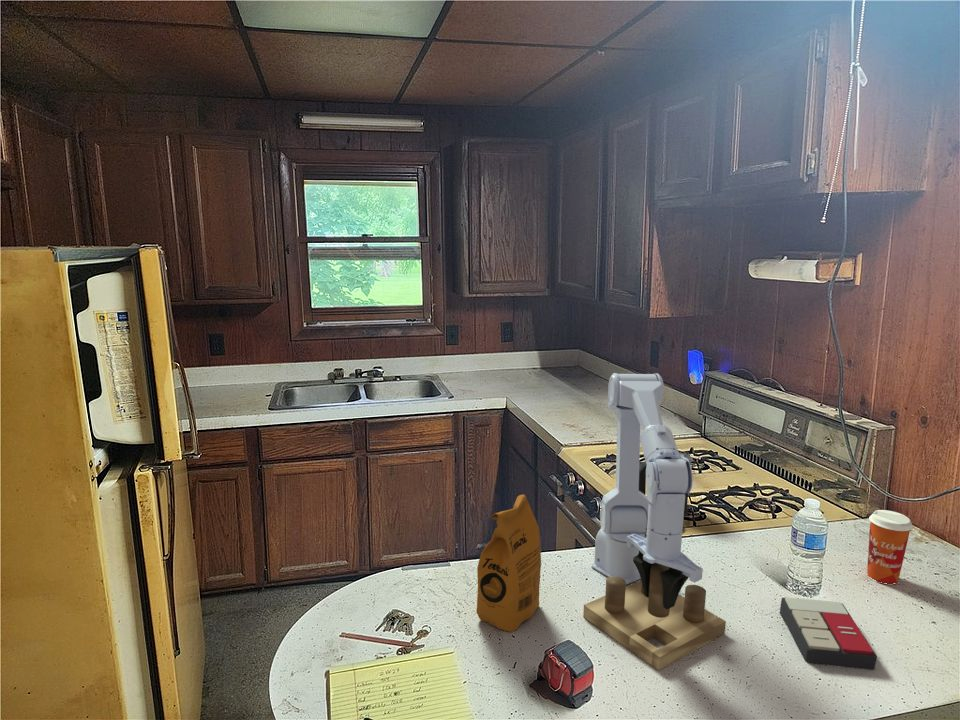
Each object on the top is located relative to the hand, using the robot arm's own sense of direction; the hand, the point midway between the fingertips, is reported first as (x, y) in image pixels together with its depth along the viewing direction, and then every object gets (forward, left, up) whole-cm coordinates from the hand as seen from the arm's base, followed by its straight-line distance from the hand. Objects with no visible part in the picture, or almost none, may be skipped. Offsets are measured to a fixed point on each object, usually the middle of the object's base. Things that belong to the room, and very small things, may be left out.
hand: (659, 600), depth 109 cm
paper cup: (+11, +59, -10) cm, 61 cm away
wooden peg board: (-5, +5, -9) cm, 12 cm away
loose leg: (0, 0, -2) cm, 2 cm away
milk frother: (-34, +45, -10) cm, 57 cm away
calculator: (+15, +28, -10) cm, 33 cm away
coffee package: (-23, -15, -10) cm, 29 cm away
